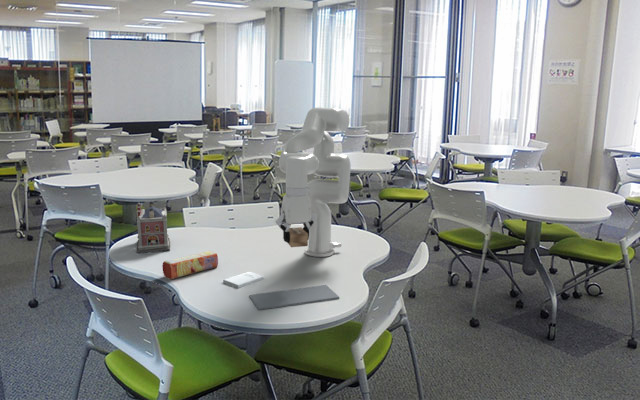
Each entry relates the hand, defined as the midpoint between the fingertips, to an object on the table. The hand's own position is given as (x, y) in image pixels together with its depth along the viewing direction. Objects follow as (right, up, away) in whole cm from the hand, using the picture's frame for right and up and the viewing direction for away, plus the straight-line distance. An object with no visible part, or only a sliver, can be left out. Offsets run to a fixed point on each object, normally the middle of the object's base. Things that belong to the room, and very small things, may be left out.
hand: (296, 240), depth 198 cm
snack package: (-41, -13, +13) cm, 45 cm away
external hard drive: (-19, -16, +5) cm, 25 cm away
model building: (-64, -6, +44) cm, 78 cm away
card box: (0, -1, 0) cm, 1 cm away
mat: (0, -19, -11) cm, 21 cm away
